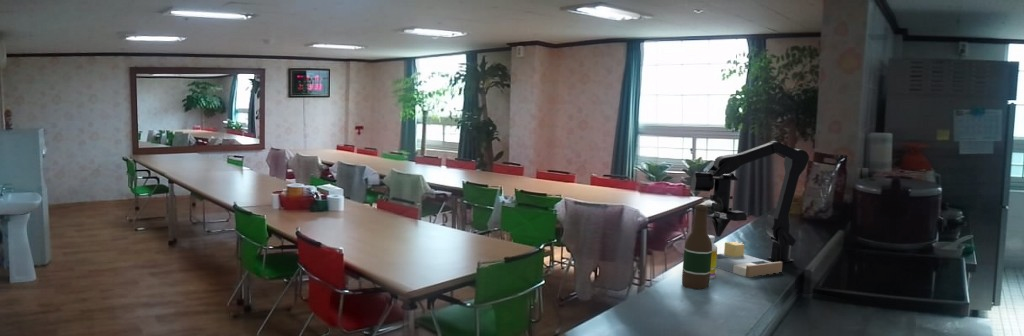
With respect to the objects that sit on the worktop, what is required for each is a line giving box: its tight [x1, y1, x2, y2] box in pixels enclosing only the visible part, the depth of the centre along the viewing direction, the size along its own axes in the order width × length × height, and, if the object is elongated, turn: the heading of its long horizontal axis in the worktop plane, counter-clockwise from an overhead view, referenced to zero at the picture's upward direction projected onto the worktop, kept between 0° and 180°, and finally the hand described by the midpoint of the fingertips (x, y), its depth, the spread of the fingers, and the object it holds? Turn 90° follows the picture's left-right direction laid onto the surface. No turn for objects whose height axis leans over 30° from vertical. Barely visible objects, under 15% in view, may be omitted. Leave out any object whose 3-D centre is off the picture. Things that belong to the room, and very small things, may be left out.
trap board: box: [716, 252, 784, 278], centre depth 219 cm, size 16×19×4 cm
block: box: [723, 241, 745, 257], centre depth 226 cm, size 4×4×4 cm
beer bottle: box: [681, 204, 712, 290], centre depth 192 cm, size 8×8×24 cm
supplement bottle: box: [708, 234, 718, 280], centre depth 205 cm, size 7×7×13 cm
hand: (718, 236), depth 232 cm, fingers closed
